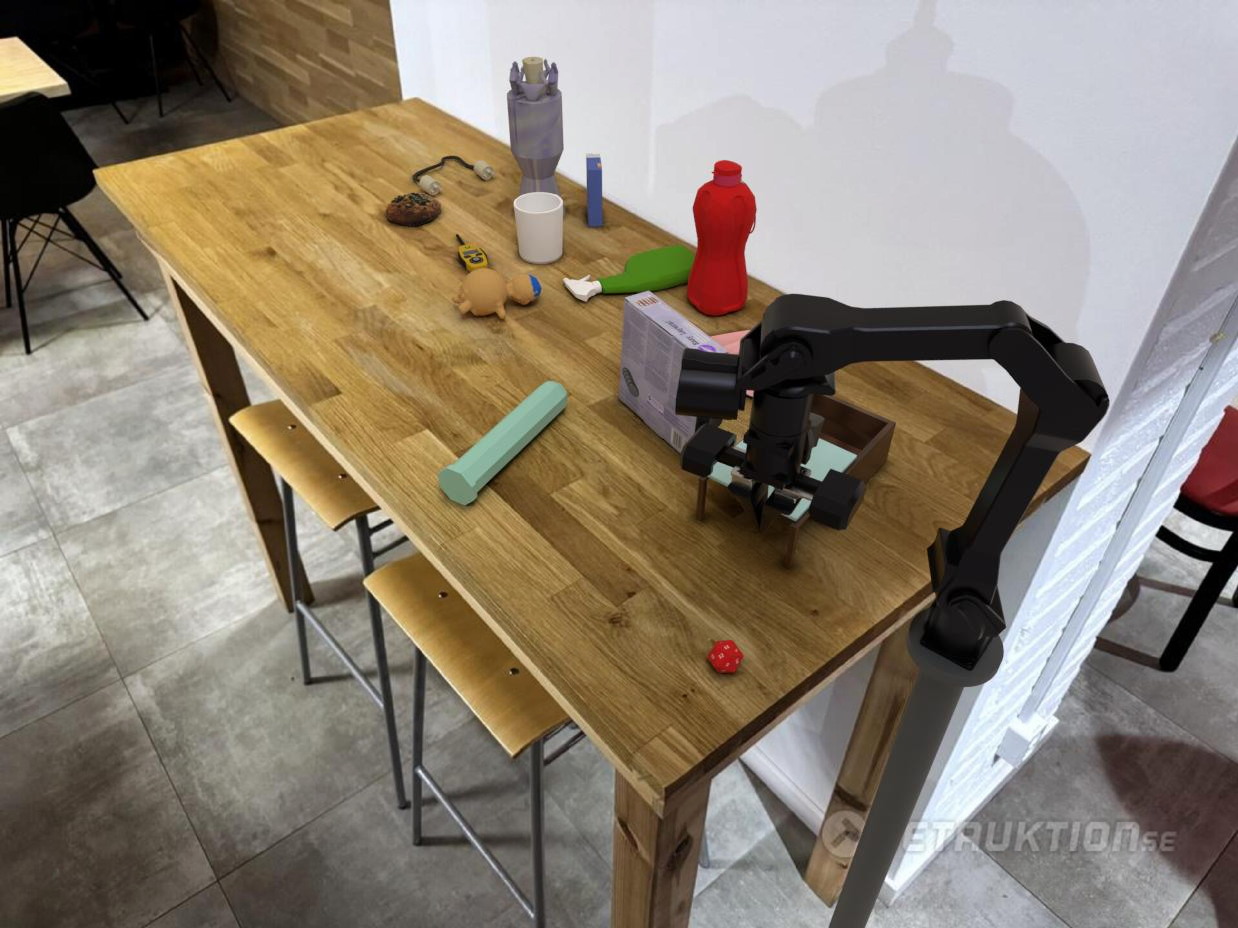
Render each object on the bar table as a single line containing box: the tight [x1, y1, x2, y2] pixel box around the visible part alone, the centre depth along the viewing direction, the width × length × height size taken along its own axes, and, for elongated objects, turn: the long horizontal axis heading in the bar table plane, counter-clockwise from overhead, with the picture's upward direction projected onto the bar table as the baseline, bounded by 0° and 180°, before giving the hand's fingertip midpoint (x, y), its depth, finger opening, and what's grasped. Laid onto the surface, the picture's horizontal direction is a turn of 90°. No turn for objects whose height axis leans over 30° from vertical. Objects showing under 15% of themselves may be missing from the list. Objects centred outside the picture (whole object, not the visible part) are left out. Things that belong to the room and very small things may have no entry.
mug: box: [513, 192, 564, 265], centre depth 171 cm, size 11×9×10 cm
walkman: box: [585, 153, 603, 228], centre depth 181 cm, size 8×3×12 cm, turn 4°
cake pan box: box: [618, 291, 729, 454], centre depth 128 cm, size 19×5×18 cm, turn 34°
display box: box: [695, 394, 897, 569], centre depth 121 cm, size 14×26×7 cm, turn 141°
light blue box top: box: [707, 438, 857, 522], centre depth 115 cm, size 13×15×3 cm
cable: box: [412, 155, 495, 196], centre depth 198 cm, size 16×16×4 cm
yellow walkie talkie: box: [455, 233, 489, 273], centre depth 172 cm, size 5×2×15 cm
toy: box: [451, 268, 543, 320], centre depth 156 cm, size 10×8×15 cm
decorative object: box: [506, 56, 567, 217], centre depth 177 cm, size 10×10×30 cm
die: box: [706, 639, 745, 674], centre depth 101 cm, size 4×3×4 cm
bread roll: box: [385, 191, 442, 228], centre depth 185 cm, size 11×11×5 cm
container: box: [437, 380, 568, 506], centre depth 128 cm, size 6×6×25 cm
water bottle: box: [686, 159, 758, 317], centre depth 152 cm, size 9×11×25 cm
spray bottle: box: [562, 244, 696, 303], centre depth 165 cm, size 3×11×24 cm
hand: (761, 531), depth 101 cm, fingers closed
